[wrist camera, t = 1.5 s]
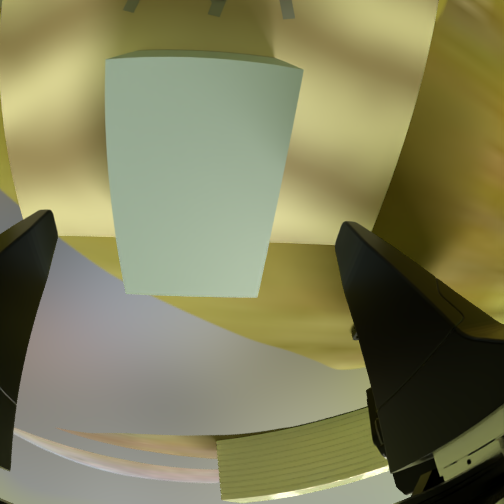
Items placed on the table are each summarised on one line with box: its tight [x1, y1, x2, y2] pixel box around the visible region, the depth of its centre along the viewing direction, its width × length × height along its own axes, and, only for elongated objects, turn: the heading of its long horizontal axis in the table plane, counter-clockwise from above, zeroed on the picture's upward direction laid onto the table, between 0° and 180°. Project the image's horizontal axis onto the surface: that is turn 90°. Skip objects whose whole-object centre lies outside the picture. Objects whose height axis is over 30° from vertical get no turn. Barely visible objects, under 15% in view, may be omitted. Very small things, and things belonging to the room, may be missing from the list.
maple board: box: [0, 0, 439, 245], centre depth 10 cm, size 22×20×2 cm
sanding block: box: [105, 49, 304, 297], centre depth 12 cm, size 9×6×4 cm, turn 172°
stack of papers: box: [216, 406, 389, 503], centre depth 42 cm, size 32×11×11 cm, turn 104°
